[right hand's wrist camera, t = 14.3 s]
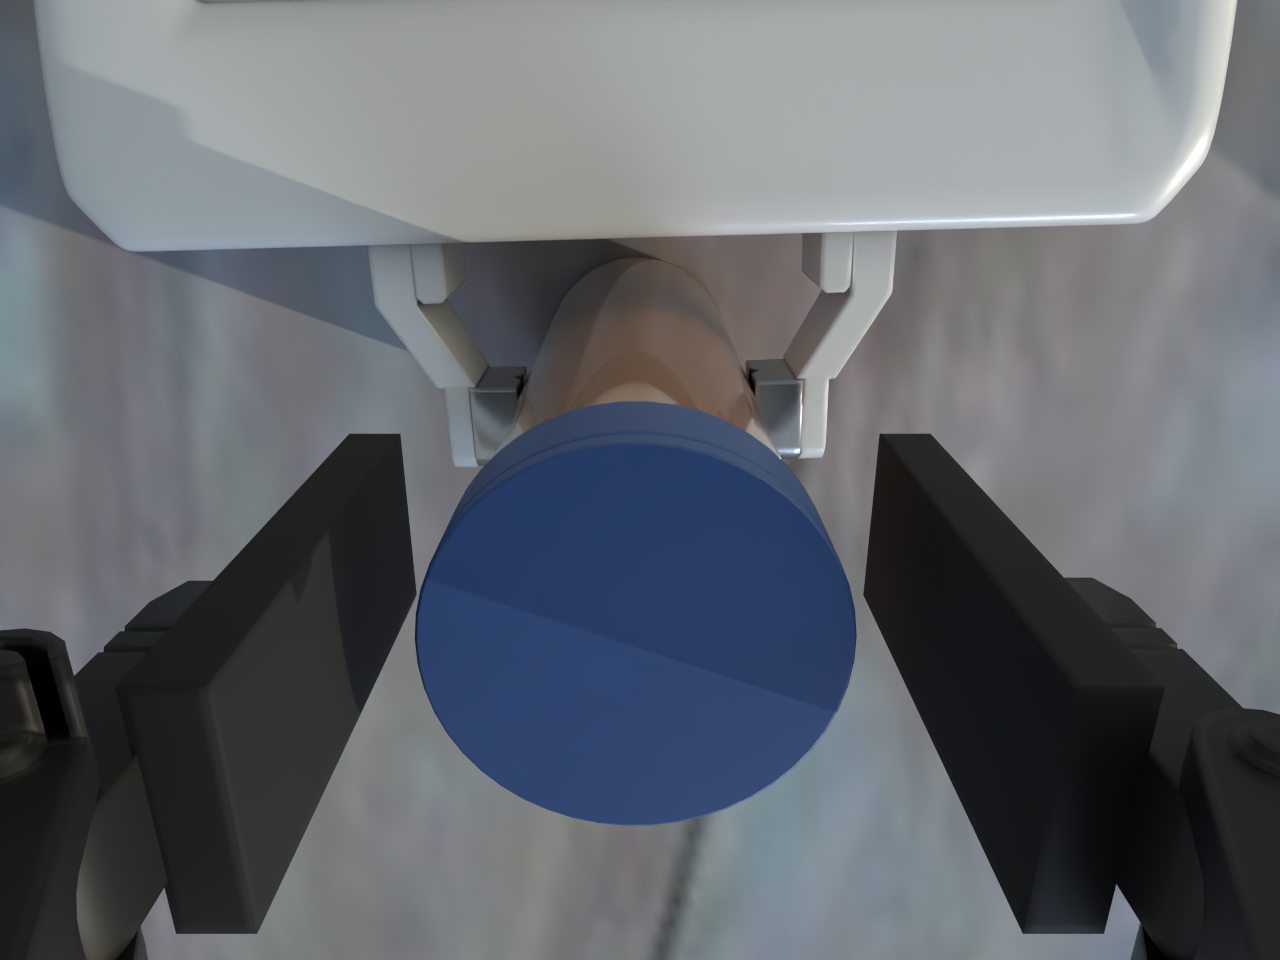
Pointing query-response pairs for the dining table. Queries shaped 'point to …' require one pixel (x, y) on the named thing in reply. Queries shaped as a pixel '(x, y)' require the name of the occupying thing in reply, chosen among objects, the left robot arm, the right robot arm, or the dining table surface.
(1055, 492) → the dining table surface
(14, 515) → the dining table surface
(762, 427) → the jar
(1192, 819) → the right robot arm
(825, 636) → the lid
